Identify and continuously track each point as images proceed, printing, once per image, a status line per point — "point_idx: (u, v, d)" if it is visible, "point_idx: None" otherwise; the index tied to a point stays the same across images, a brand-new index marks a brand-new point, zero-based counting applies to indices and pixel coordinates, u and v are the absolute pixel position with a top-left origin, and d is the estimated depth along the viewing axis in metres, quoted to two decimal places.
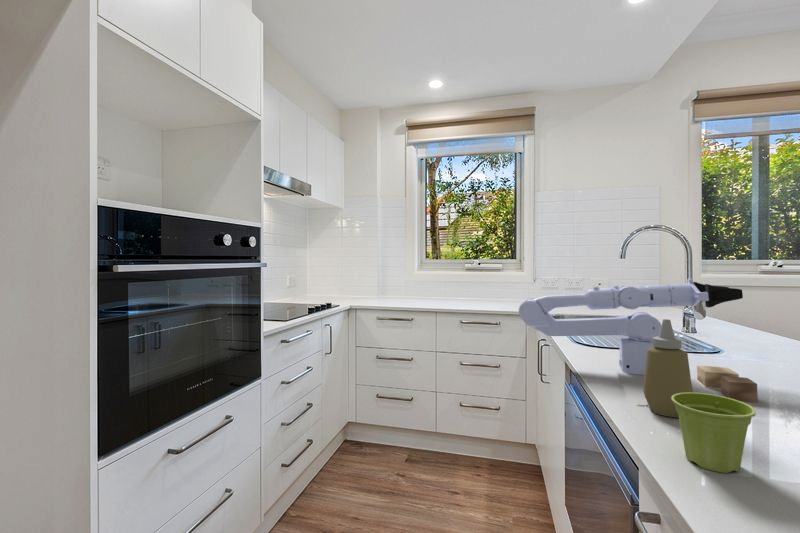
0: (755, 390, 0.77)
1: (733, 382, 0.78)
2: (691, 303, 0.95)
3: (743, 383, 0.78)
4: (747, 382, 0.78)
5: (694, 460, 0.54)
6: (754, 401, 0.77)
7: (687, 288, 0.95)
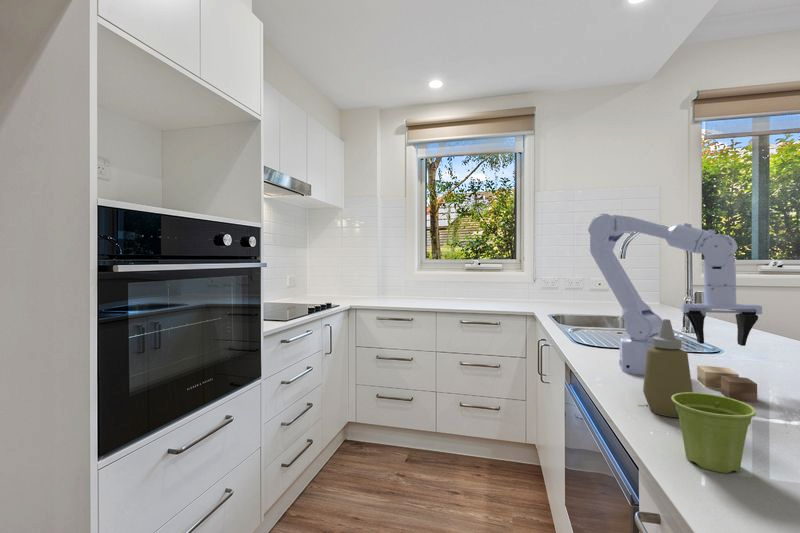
0: (755, 390, 0.77)
1: (733, 382, 0.78)
2: None
3: (743, 383, 0.78)
4: (747, 382, 0.78)
5: (694, 460, 0.54)
6: (754, 401, 0.77)
7: (711, 301, 0.88)
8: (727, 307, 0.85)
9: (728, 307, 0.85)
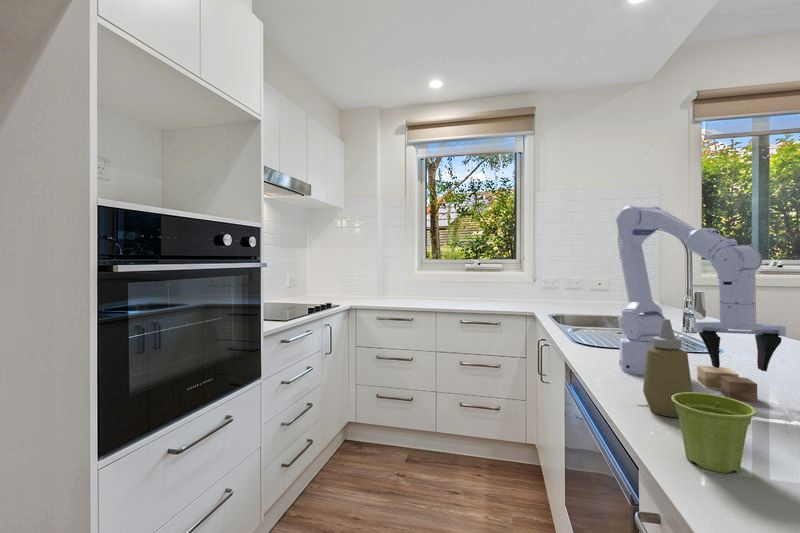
0: (755, 390, 0.77)
1: (733, 382, 0.78)
2: None
3: (743, 383, 0.78)
4: (747, 382, 0.78)
5: (694, 460, 0.54)
6: (754, 401, 0.77)
7: (727, 321, 0.79)
8: (746, 328, 0.76)
9: (747, 328, 0.76)
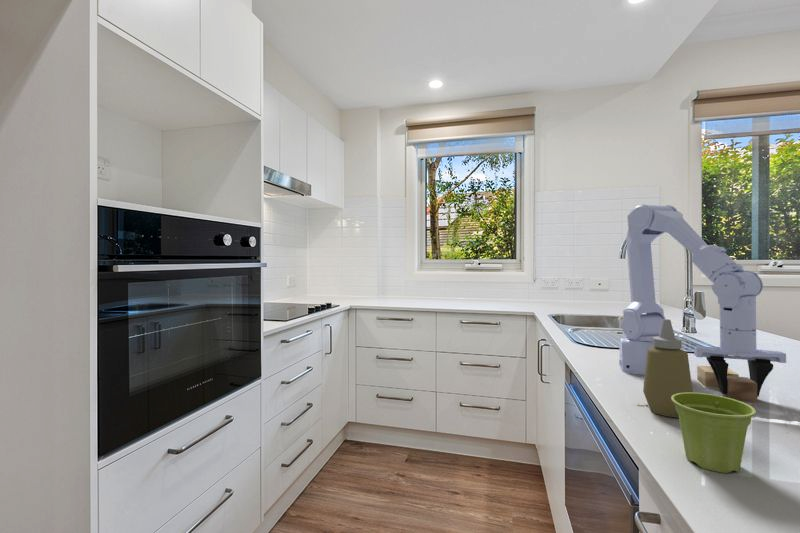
0: (755, 389, 0.77)
1: (733, 381, 0.78)
2: None
3: (743, 382, 0.78)
4: (747, 381, 0.78)
5: (694, 460, 0.54)
6: (754, 400, 0.77)
7: (728, 347, 0.79)
8: (746, 355, 0.76)
9: (748, 355, 0.76)
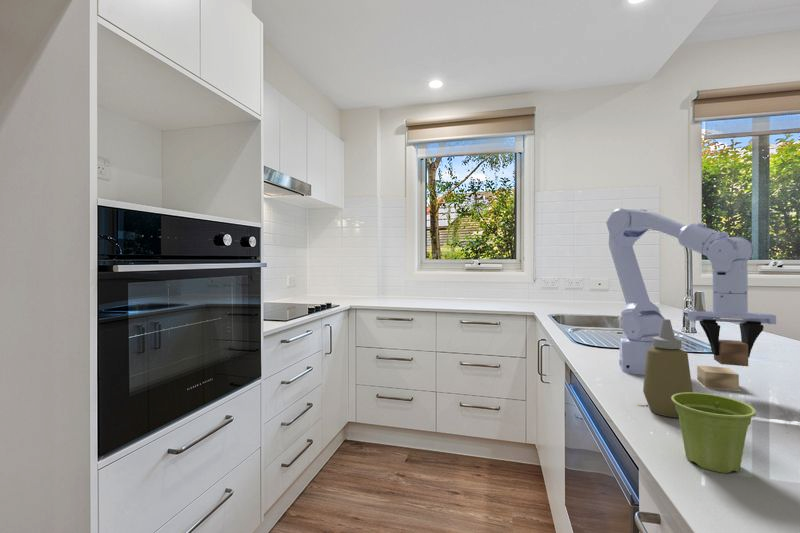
0: (746, 351, 0.80)
1: (725, 344, 0.81)
2: None
3: (735, 344, 0.80)
4: (738, 343, 0.81)
5: (694, 460, 0.54)
6: (745, 361, 0.80)
7: (720, 310, 0.82)
8: (737, 316, 0.79)
9: (739, 316, 0.79)
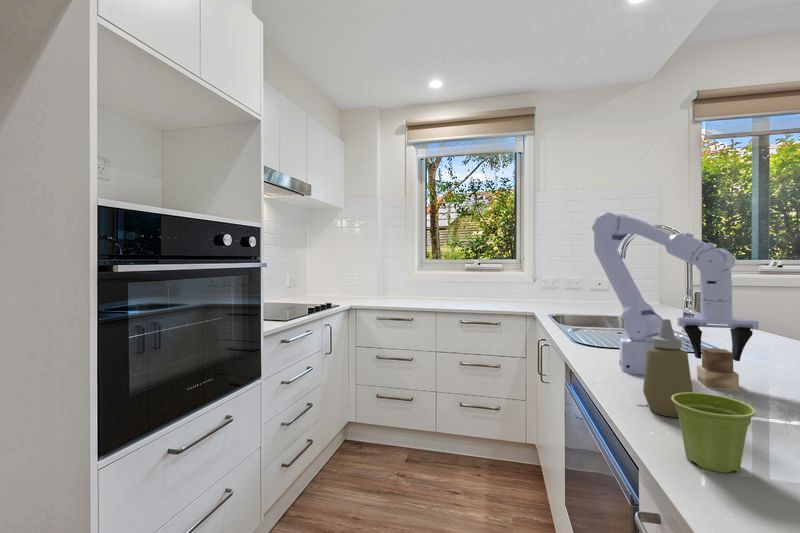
0: (731, 359, 0.85)
1: (712, 352, 0.87)
2: None
3: (721, 353, 0.86)
4: (724, 352, 0.86)
5: (694, 460, 0.54)
6: (730, 368, 0.85)
7: (707, 316, 0.88)
8: (723, 322, 0.85)
9: (724, 322, 0.85)
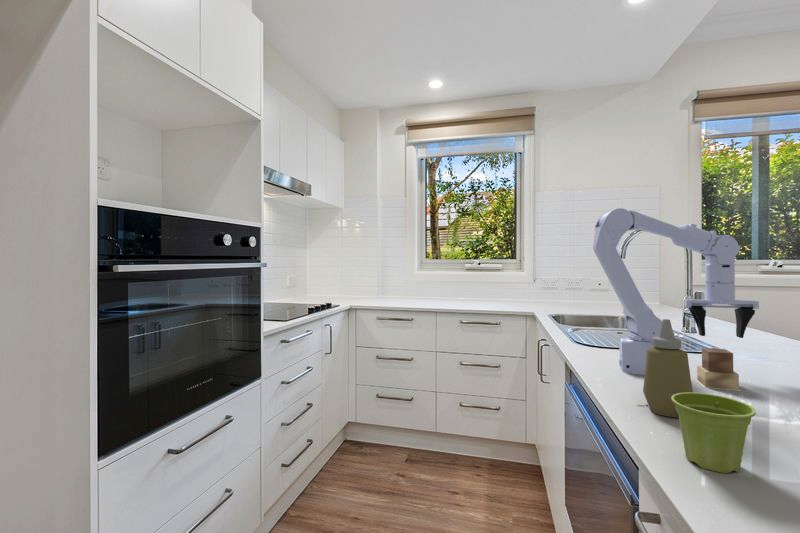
0: (731, 359, 0.85)
1: (712, 352, 0.87)
2: None
3: (721, 353, 0.86)
4: (724, 352, 0.86)
5: (694, 460, 0.54)
6: (730, 368, 0.85)
7: (711, 297, 0.96)
8: (726, 302, 0.93)
9: (727, 302, 0.93)
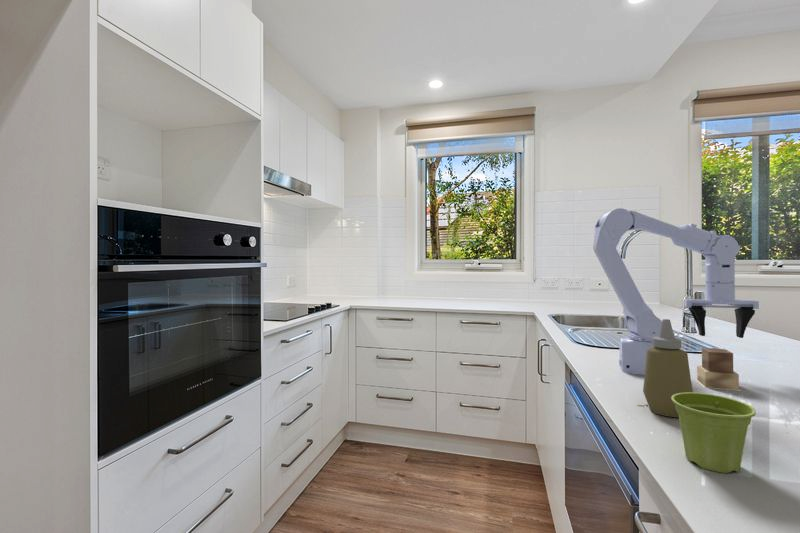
0: (731, 359, 0.85)
1: (712, 352, 0.87)
2: None
3: (721, 353, 0.86)
4: (724, 352, 0.86)
5: (694, 460, 0.54)
6: (730, 368, 0.85)
7: (711, 297, 0.96)
8: (726, 302, 0.93)
9: (727, 302, 0.93)
